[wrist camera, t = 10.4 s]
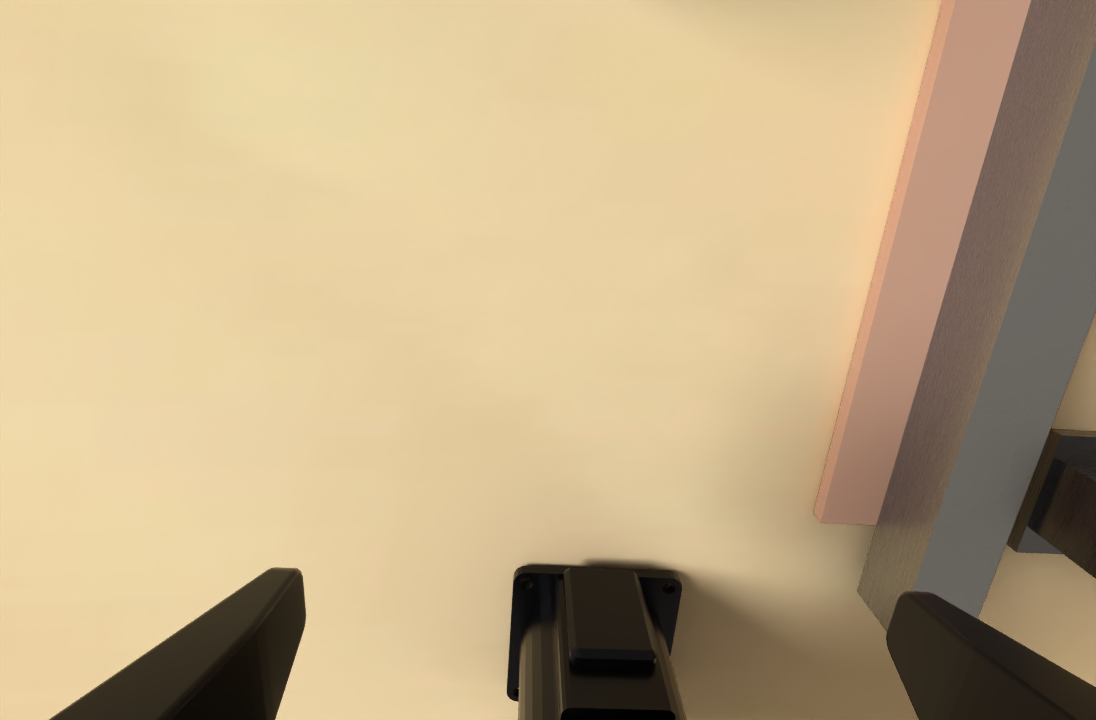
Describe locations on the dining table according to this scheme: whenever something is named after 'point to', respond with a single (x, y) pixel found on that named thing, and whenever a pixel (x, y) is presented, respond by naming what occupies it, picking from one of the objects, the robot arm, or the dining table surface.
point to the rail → (1000, 328)
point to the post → (1061, 501)
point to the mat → (918, 249)
